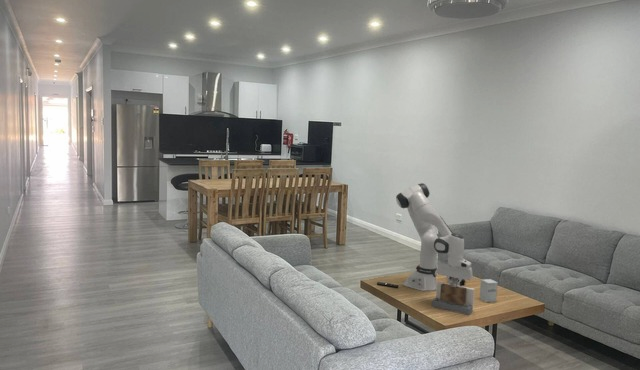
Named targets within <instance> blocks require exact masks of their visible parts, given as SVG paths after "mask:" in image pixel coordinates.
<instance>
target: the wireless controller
mask: <svg viewBox="0 0 640 370" xmlns="http://www.w3.org/2000/svg"><path fill="white" fill-rule="evenodd" d="M449 279H450V280H451V279H456V280H458V282H459V278H455V277H449ZM465 283H466V281H465V279H462V280H461V282H460V285H459V286H463V287H465Z"/></svg>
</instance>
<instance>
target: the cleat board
mask: <svg viewBox="0 0 640 370" xmlns="http://www.w3.org/2000/svg"><path fill="white" fill-rule="evenodd" d="M443 283H444V284H448V282H447V283H446V282H441V281H436V284H437V289H436V290H435V298H434V299H432V300H431V307H433V308H436V309H437V308H438V309H441V310H445V309H446V310H445V311H450V312H455V313H459V314H464V315H468V316H470V315H471V314H472V312H473V311H474V306H475V305H474V304H475V302H474V301H475V291H476V290H475V288H473V287H467V286H460V285H459V287H464V288H467V289H466V303H465V304H464V305H463V304H458V303H453V302H449V301H444V300H440V292H441V284H443ZM449 285H450V284H449ZM457 286H458V285H457Z"/></svg>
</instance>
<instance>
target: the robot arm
mask: <svg viewBox="0 0 640 370" xmlns="http://www.w3.org/2000/svg"><path fill="white" fill-rule="evenodd" d="M430 194H431V193H430V190H429V187H428V186H427V185H426V183H418V184H416V185H413V186H411V187H409V188H407V189H405V190H403V191H402V192H399V193H398V194H396V197H395V198H396V204H397V205H398V207H400V208H402V209H407V212H408V214H409V216H410V219H411V222H412V224H413V226H414V228H415V230H416V232H417V233H418V236H419V238H420V242H421V243H420V254H419V263H418V265H417V266H416V267H415V271H413V272H412V273H410V274H409V275H408V277H407V278H406V280H405V281H404V282H403V284H402V285H403V287H407V288H411V289H414V290H418V291H421V292H425V291H426V292H427V291H436V289H437V275H441V276H445V277H446V280H447V281H448V282H447V283H448V284H450V279H449V277H455V278H459V282H457V283H456V285H458V286H460V282H461V280H462V279H465V280H466V281H471V280H472V279H473V275H474V274H473V268H472V262H471V261H469V260H467V259H465V258H464V251H465V239H464V236H463V235H461V234H459V233H455V232H453V231H452V229H450V227H449V226H448V224H447V223H446V221H445V220H444V218H443V217H442V216H441V215H440V214H439V213H438V212H437V211H436V210H435V209H434V206H433V205H432V204H431V202H430V200H429V199H428V198H429V197H430ZM435 228H436V229H437V230H438V232H439V233H440V235H441V236H440V237H439V236H438V234H437V231H436V229H435ZM438 253H439V254H447V259H443V258H441V259H438ZM437 260H438V261H437Z"/></svg>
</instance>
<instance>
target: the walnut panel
mask: <svg viewBox="0 0 640 370" xmlns="http://www.w3.org/2000/svg"><path fill="white" fill-rule="evenodd" d="M457 282H458V280H456V279H451V280H450V285H449V284H444V283H445V282H443V284H441V292H440V300H444V301H449V302H453V303H458V304H463V305H464V304H465V303H466V289H467V288H464V287H465V286H463V287H459V286H460V285H459V286H457V285H456V283H457Z"/></svg>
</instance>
